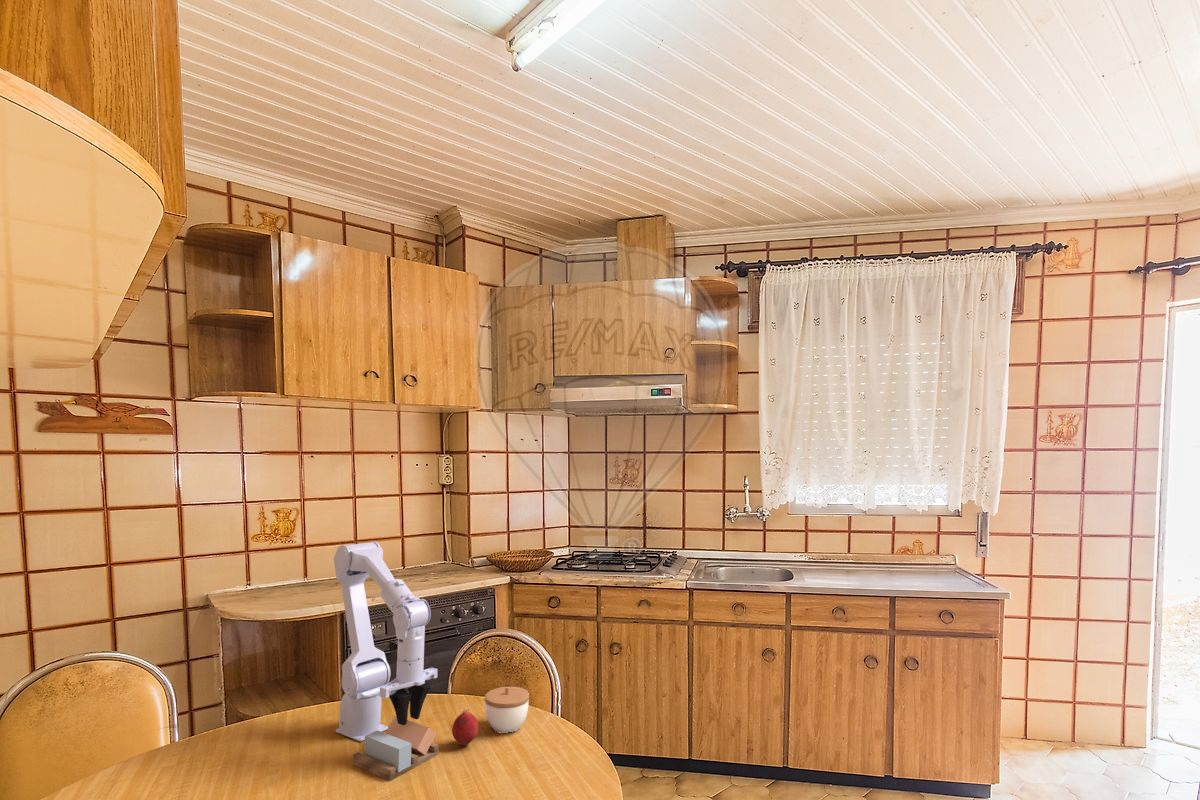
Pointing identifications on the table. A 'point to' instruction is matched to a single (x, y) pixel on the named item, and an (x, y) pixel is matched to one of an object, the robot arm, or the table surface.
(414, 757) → the walnut rack
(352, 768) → the table surface
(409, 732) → the salmon pink block
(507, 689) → the lidded jar
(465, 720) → the onion
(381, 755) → the grey-blue block
